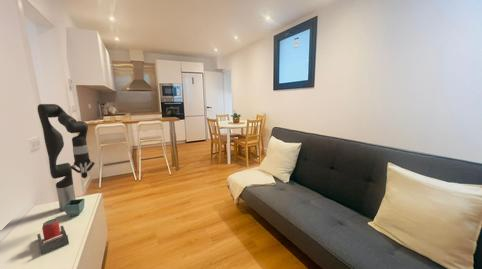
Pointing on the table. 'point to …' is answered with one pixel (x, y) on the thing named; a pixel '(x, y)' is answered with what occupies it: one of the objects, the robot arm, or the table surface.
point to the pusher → (52, 239)
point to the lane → (53, 243)
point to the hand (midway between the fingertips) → (84, 177)
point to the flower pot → (74, 207)
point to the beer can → (51, 229)
